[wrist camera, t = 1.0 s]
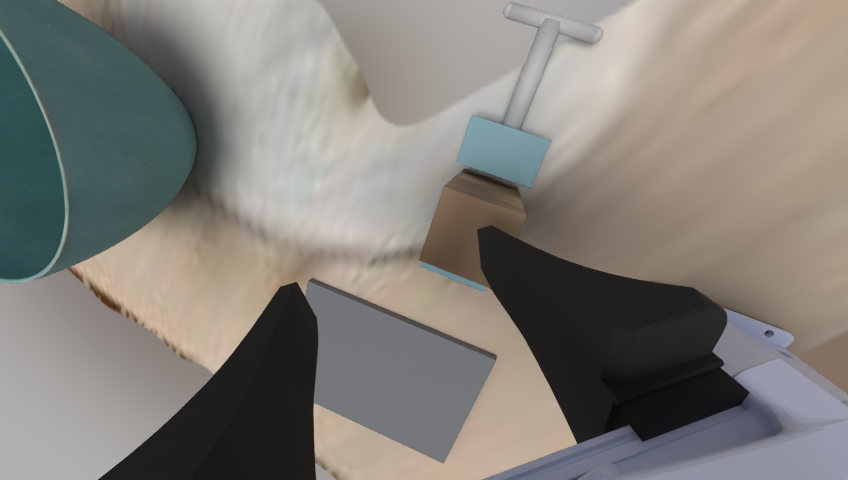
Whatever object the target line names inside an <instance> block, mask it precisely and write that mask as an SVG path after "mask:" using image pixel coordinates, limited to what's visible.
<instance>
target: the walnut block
mask: <svg viewBox="0 0 848 480" xmlns="http://www.w3.org/2000/svg"><path fill="white" fill-rule="evenodd" d="M526 217H527V215H526V212H525V209H524V206H523V203H522V199H521V196H520V193H519V190H518V187H516V186H513V185H510V184H507V183H505V182H502V181H499V180H496V179H493V178H490V177H487V176H485V175H482V174H479V173H476V172H473V171H470V170H468V169H464V170H463V171H461V172H460V173H459V174H458V175H457V176H456V177H454V178H453V179H452V180H451V181H450V182H449V183H447V184H446V185H445V186H444V188H443V191H442V194H441V197H440V200H439V203H438V206H437V209H436V212H435V214H434V217H433V220H432V223H431V226H430V229H429V232H428V235H427V238H426V241H425V244H424V247H423V250H422V253H421V256H420V259H419V260H420V261H422V262H425V263H427V264H430V265H432V266H435V267H437V268H440V269H442V270H445V271H447V272H450V273H453V274H455V275H458V276H460V277H463V278H465V279H468V280H470V281H473V282H475V283H478V284H480V285H483V286H486V287H488V288H490V286H489V284H488V282H487V280H486V278H485V276H484V274H483V272H482V270H481V264H480V254H479V244H478V234H477V229H480V228H484V227H487V226H490V225H492V226H494V227H496V228H498V229H500V230H502V231H504V232H506V233H507V234H509V235H511V236H513V237H515V238H517V237H518V235H519V233H520V231H521V228H522V226H523V224H524V222H525V220H526Z"/></svg>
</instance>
